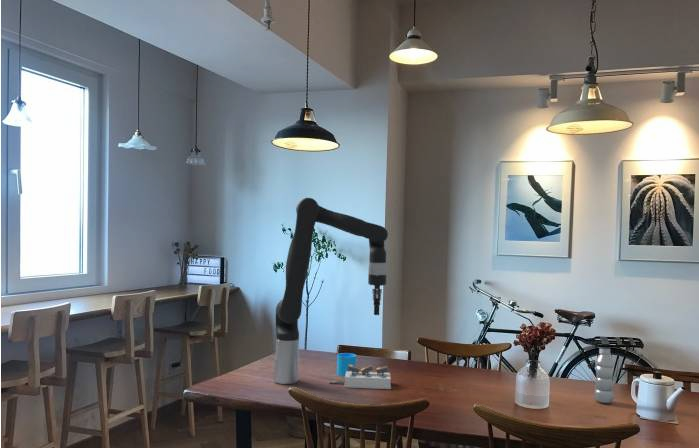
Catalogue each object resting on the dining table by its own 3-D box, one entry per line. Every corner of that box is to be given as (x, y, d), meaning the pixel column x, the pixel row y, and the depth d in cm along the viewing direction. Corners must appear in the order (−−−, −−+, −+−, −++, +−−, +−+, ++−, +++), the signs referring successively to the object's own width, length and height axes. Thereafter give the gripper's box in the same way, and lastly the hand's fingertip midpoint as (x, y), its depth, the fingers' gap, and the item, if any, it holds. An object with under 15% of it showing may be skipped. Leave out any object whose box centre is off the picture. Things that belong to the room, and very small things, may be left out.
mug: (353, 377, 226) (353, 357, 226) (334, 375, 228) (335, 356, 228) (359, 370, 238) (360, 352, 238) (341, 369, 240) (342, 350, 240)
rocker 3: (377, 374, 214) (376, 369, 214) (377, 372, 217) (376, 368, 217) (388, 371, 214) (387, 367, 214) (388, 369, 217) (387, 365, 217)
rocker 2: (362, 374, 214) (360, 370, 215) (362, 372, 218) (361, 368, 218) (373, 369, 214) (371, 365, 214) (373, 367, 218) (371, 364, 218)
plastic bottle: (596, 398, 203) (597, 345, 204) (615, 402, 199) (616, 348, 199) (591, 402, 198) (592, 348, 199) (611, 406, 194) (612, 351, 194)
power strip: (328, 386, 211) (328, 374, 211) (330, 380, 220) (330, 368, 220) (390, 389, 210) (391, 376, 210) (390, 382, 219) (390, 370, 219)
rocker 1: (347, 370, 215) (348, 366, 215) (347, 368, 218) (349, 364, 218) (358, 373, 215) (359, 369, 215) (358, 371, 218) (359, 367, 218)
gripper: (368, 272, 231) (367, 312, 231) (368, 274, 218) (367, 316, 218) (386, 272, 231) (385, 312, 230) (386, 274, 218) (385, 317, 217)
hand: (376, 314), depth 224 cm, fingers closed
